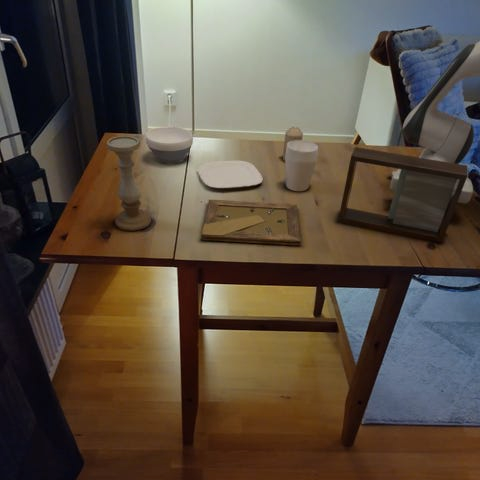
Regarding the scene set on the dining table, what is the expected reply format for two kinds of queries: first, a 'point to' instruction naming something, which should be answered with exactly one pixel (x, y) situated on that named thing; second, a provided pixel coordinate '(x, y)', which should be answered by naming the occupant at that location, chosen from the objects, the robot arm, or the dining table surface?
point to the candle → (292, 137)
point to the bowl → (169, 143)
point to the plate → (229, 174)
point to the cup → (300, 164)
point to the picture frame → (251, 222)
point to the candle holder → (128, 185)
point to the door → (397, 193)
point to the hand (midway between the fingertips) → (429, 198)
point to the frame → (410, 195)
